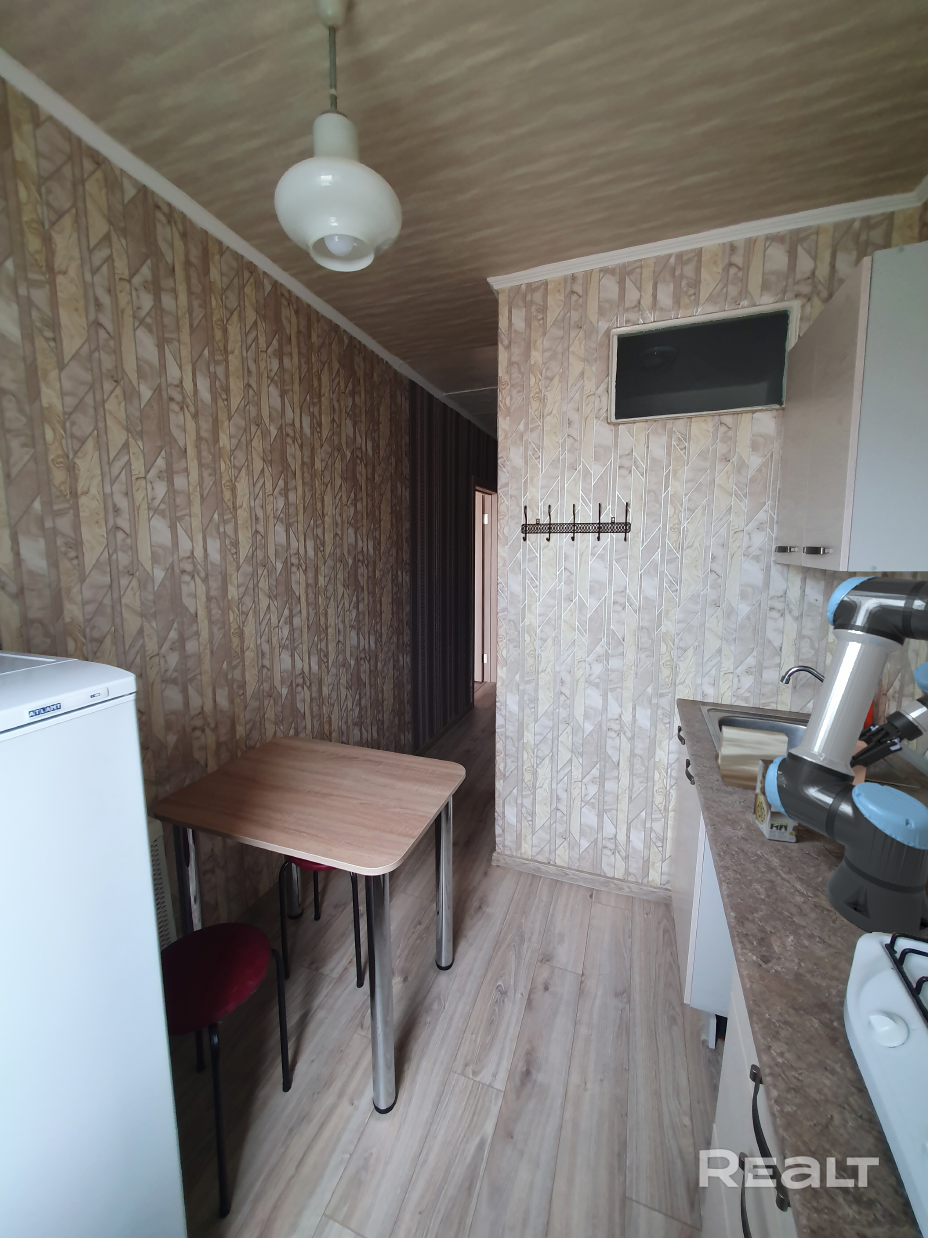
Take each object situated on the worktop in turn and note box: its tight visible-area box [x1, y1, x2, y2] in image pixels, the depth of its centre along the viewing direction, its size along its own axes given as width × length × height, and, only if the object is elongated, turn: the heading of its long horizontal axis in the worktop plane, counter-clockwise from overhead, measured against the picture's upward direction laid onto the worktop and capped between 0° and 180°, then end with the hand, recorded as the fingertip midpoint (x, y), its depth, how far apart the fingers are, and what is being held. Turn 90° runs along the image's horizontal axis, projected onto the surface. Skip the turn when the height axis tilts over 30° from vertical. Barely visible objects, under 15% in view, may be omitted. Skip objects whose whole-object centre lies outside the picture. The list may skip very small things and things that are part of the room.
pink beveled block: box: [851, 740, 868, 786], centre depth 131 cm, size 4×8×12 cm, turn 70°
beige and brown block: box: [714, 725, 789, 791], centre depth 137 cm, size 18×26×14 cm
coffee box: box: [752, 759, 800, 843], centre depth 113 cm, size 9×6×16 cm
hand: (827, 769), depth 133 cm, fingers closed on pink beveled block, 4 cm apart
